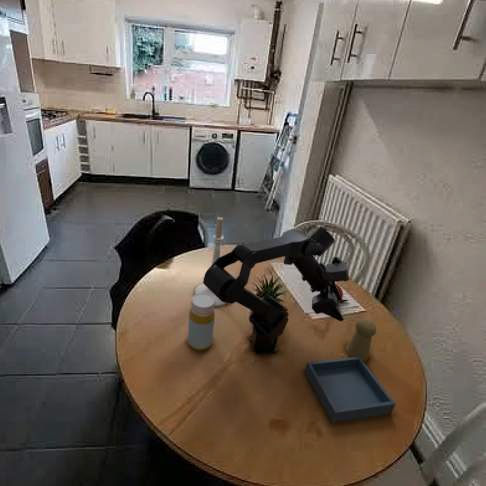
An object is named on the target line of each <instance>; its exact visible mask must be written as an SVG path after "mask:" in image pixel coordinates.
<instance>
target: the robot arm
mask: <svg viewBox="0 0 486 486" xmlns="http://www.w3.org/2000/svg"><path fill="white" fill-rule="evenodd" d="M335 242H336V240H335V238H334V237H333V235H332V234H331V233H330V232H329V231H328V229H327V228H326V227H323V226H319V227H318V228H317V229H316V231H314V232H313V234H311V236H309V235H307V234H305V233H304V232H301V231H300V230H298V229H295V228H291V229H288V230H285V231H284V232H282V233H281V235H280V236H279V237H274V238H270V239H269V238H268V239H265V240H260V241H254V242H250V243H238V244H237V245H236V246H235V247H234V248H233V249H232V250H231V251H230V252H228V253H225V254H223V255H222V256H221V255H220V257H219V258H218V259H217V260H216V261H215V262H214V263H213V264H212V263H211V265H210V266H209V268H207V269H206V271H205V273H204V276H203V281H202V284H204V285H205V286H206V287H207V288H208V289H209V290H210V291H211V292H212V293H213V294H214V295H216V296H217V297H218V298H219V299H220V300H221V301H222V302H224V303H226V304H229V305H233V304H235V303H237V304H239V305H241V306H243V307H245V308H247V309H248V310H250V311H252V313H251V314H250V315H249V317H248V320H249V323H250V324H252V332H251V335H249V336H248V340H249V342H250V344H251V347H252V350H253V352H254V354H255V355H263V354H272V353H277V352H278V349H277V347H276V346H277V345H278V344H277V343H278V341H279V340H278V339H279V337H280V336H282V335H283V333H284V331H285V329H286V327H287V324H288V323H289V316H290V315H289V312H288V311H289V309H288V308H287V307H286V306H284V305H283V304H282V303H281V302H279V301H278V300H277V299H275V298H274V297H273V296H270V295H269V294H268V293H265V295H264V296H263V297H261V296H259V295H257V294H256V293H254V292H252V291H251V290H250V289H248V288H246V286H247V285H248V284H249V279H250V275H251V271H252V269H253V268H254V267H255V266H256V264H260V263H264V262H267V261H272V260H276V259H279V258H284V259H283V264H284V265H287V266H292V265H293V266H294V267H295V268H296V269H297V271H298V272H299V273H300V275H301V280H302V281H303V282H306V283H307V284H308V285H309V286H310V288H309V290H310V291H311V293H315V292H317V293H318V294H316V295H313V296H312V300H311V309H312V311H313V312H314V314H316V315H320V314H324V315H325V316H329V317H330V318H332V319H334V320H336V321H339V322H344V321H345V318H344V316H343V314H342V312H341V311H340V308H339V306H338V305H339V302H341V301H342V300H343V297H342V298H341V295H340V293H339V291H338V288H337V286H336V283H338V282H348V281H349V280H350V274H349V273H350V272H349V270H348V265H347V262H345V260H342V259H341V258H340V257H339V256H333V257H332V259H331V262H329V263H325V264H324V262H323V261H318V259H317V258H316V256H318V257H319V258H321V257H322V255H324V254H325V253H326V252H327V250H329V249H330V248H331V247H332V246H333V245H334V244H335ZM237 262H240V263H241V265H240V267H241V268H240V270H239V274H238V276H236V277H234V275H232V274H231V273H230V272H229V271H227V270H226V267H228V266H231V265H232V264H235V263H237Z"/></svg>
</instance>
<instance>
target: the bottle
mask: <svg viewBox="0 0 486 486" xmlns="http://www.w3.org/2000/svg"><path fill="white" fill-rule="evenodd" d="M214 302H215V301H214V298H213V296H211V295H210V294H207V293H198V294H195V293H194V295H193V296H192V297H191V305H190V307H191V308H190V310H189V313H188V314H189V315H188V328H187V331H188V332H187V343H188V345H189V347H191V348H192V349H193V350H196V351H205V350H207V349H209V348H210V347H211V346H212V344H213V337H214V327H215V325H214V324H215V317H216V314H215V310H214V309H215V306H214Z"/></svg>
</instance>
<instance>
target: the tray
mask: <svg viewBox="0 0 486 486" xmlns="http://www.w3.org/2000/svg"><path fill="white" fill-rule="evenodd" d="M304 373H305V375H306V377H307V380H308V381H309V384H311V386H312V388H313V390H314V392H315V394H316V396H317V398H318V399H319V401H320V403H321V405H322V407H323V409H324V411H325V413H326V414H327V416H328V419H329V420H330V422H331V424H335V423H341V422H348V421H355V420H360V419H369V418H373V417H381V416H386V415H391V414H393V411H394V409H395V406H396V402H395V401H394V399H393V398H392V397H391V396H390V394H389V393H388V392H387V390H386V389H385V388H384V387H383V385H382V384H381V382H380V381H379V380H378V378H377V377H376V376H375V374H373V372H372V371H371V369H370V368H369V367H368V365H367V364H366V363H365V361H363V360H362V359H361V358H360V357H351V356H350V357H342V358H334V359H325V360H317V361H307V362H306V365H305V369H304Z"/></svg>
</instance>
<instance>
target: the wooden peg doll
mask: <svg viewBox="0 0 486 486" xmlns="http://www.w3.org/2000/svg"><path fill="white" fill-rule="evenodd" d="M376 333H377V326H376V324H375V323H374V322H373V321H371V320H370V319H367V318H360V319H358V320H357V321H356V322H355V330H354V333H353V334H352V336H351V338H350V340H349V341H348V344H347V346H346V348H345V349H346V350H345V351H346V352H347V354H348V356H350V358H351V357H360V358H361V359H362V360H363V362H366V361H368V359H369V358H370V349H371V344H372V340H373V339H372V338H373V337H374V336H375V335H376Z"/></svg>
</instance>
